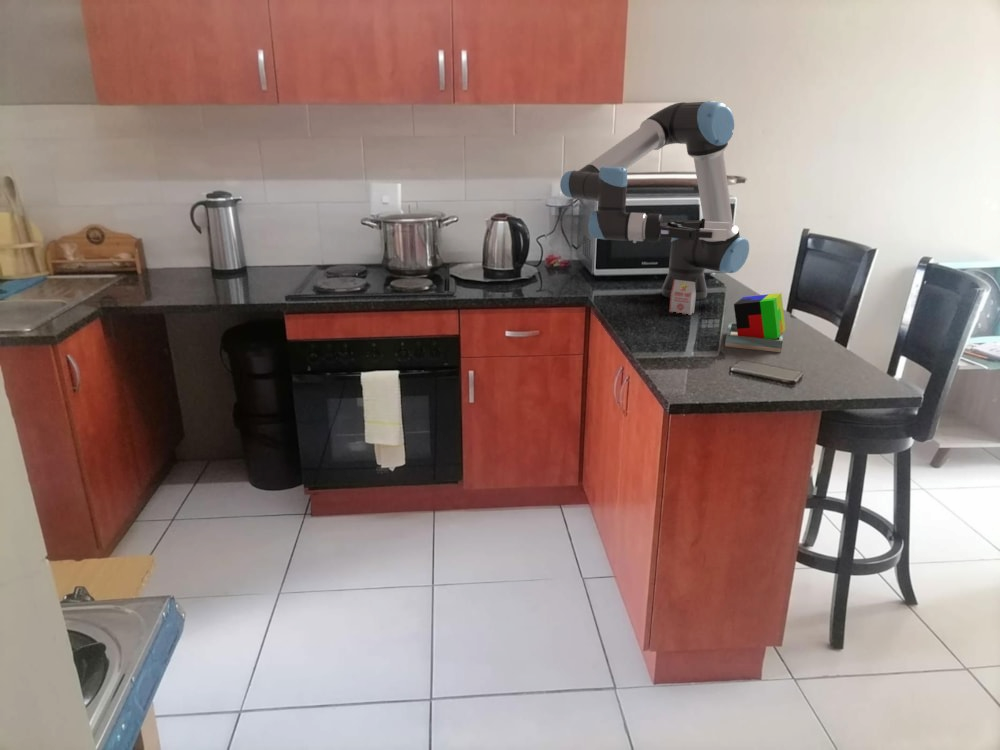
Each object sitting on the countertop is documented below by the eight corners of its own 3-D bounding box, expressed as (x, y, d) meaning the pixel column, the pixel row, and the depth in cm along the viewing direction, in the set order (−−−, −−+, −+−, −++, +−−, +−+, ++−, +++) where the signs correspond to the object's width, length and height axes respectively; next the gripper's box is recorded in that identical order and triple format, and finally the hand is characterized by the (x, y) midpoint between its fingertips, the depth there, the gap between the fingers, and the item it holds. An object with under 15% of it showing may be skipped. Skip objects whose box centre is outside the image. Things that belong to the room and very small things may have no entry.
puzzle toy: (747, 332, 196) (743, 297, 194) (785, 329, 191) (781, 292, 189) (738, 341, 188) (733, 304, 186) (777, 338, 183) (773, 300, 181)
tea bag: (673, 309, 224) (676, 278, 221) (694, 312, 221) (697, 281, 217) (669, 311, 222) (671, 280, 218) (689, 315, 218) (692, 283, 214)
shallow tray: (727, 332, 199) (729, 322, 198) (780, 337, 195) (782, 327, 194) (724, 346, 187) (726, 335, 186) (781, 352, 182) (782, 341, 181)
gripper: (652, 234, 203) (729, 238, 197) (637, 248, 181) (723, 253, 175) (654, 208, 201) (732, 211, 194) (639, 219, 179) (726, 223, 172)
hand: (728, 231), depth 184 cm, fingers open, 13 cm apart
